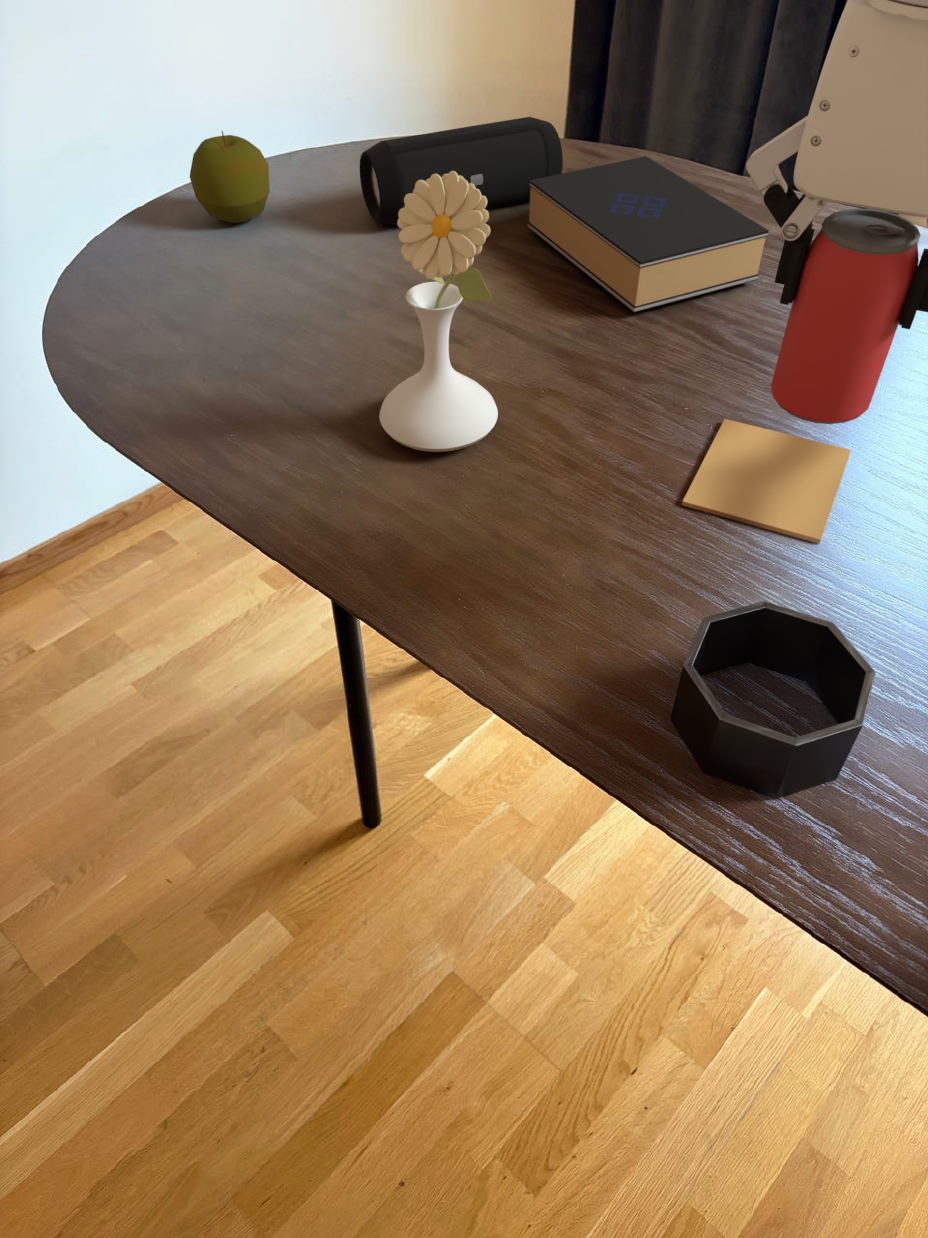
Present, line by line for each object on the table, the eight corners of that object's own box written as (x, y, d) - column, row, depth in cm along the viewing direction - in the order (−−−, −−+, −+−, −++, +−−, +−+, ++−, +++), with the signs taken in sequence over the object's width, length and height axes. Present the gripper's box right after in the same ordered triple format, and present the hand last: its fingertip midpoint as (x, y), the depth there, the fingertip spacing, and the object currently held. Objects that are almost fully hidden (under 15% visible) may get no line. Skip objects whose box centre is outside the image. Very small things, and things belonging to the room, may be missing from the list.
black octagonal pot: (858, 693, 68) (884, 637, 63) (826, 819, 61) (853, 765, 56) (701, 642, 71) (716, 586, 67) (654, 755, 64) (667, 700, 60)
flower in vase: (358, 422, 92) (329, 155, 74) (450, 382, 97) (444, 123, 79) (436, 487, 85) (425, 210, 67) (532, 441, 89) (546, 170, 71)
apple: (188, 230, 123) (168, 141, 115) (217, 200, 129) (200, 114, 121) (260, 237, 121) (245, 147, 113) (286, 206, 127) (273, 119, 120)
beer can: (880, 428, 62) (947, 251, 53) (781, 429, 62) (831, 252, 53) (852, 374, 66) (908, 203, 58) (759, 375, 66) (801, 204, 58)
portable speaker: (385, 241, 120) (379, 159, 112) (360, 211, 126) (353, 132, 119) (563, 206, 126) (568, 127, 119) (531, 180, 133) (534, 103, 126)
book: (639, 207, 126) (646, 155, 121) (757, 285, 110) (769, 230, 106) (526, 232, 121) (528, 179, 116) (633, 319, 105) (640, 262, 101)
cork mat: (849, 454, 88) (851, 449, 87) (819, 544, 79) (820, 539, 79) (723, 422, 91) (724, 418, 91) (681, 505, 83) (682, 501, 82)
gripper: (1146, -32, 46) (998, 307, 59) (789, -62, 51) (725, 256, 64) (1151, 6, 41) (989, 366, 54) (758, -31, 46) (696, 305, 59)
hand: (847, 304), depth 59 cm, fingers closed on beer can, 6 cm apart
